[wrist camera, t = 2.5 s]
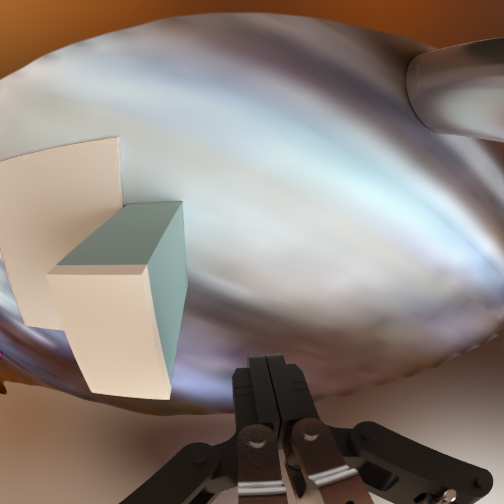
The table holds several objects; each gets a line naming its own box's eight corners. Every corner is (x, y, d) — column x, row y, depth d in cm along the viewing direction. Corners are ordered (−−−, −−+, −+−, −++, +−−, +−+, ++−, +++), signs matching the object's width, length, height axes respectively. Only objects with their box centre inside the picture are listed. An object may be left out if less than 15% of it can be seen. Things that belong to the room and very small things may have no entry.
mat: (119, 137, 21) (117, 137, 20) (143, 332, 29) (142, 335, 28) (-9, 164, 19) (-13, 165, 19) (27, 323, 27) (25, 325, 26)
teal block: (182, 201, 24) (141, 274, 11) (187, 283, 27) (169, 399, 14) (128, 203, 23) (46, 274, 10) (138, 284, 26) (91, 392, 14)
